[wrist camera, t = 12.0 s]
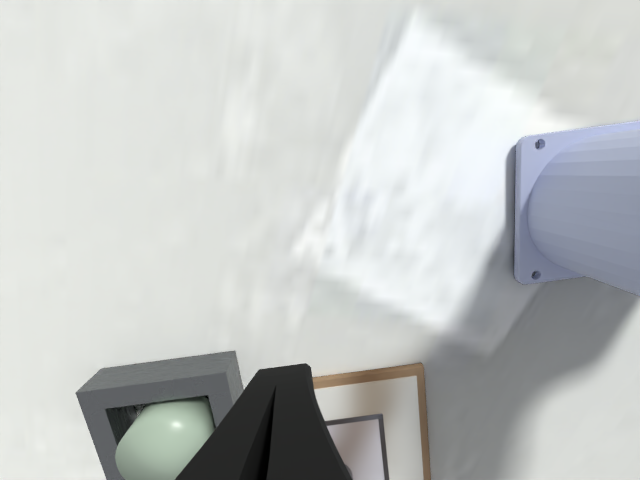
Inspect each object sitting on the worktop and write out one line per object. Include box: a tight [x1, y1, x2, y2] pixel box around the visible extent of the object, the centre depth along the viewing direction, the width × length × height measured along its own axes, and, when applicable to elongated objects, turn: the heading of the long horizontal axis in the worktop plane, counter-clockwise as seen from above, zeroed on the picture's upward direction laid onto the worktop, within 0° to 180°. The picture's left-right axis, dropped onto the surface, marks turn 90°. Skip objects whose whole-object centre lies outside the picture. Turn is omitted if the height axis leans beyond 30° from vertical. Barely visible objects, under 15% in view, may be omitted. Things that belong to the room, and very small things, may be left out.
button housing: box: [76, 351, 244, 480], centre depth 18 cm, size 8×8×2 cm
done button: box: [115, 396, 216, 480], centre depth 17 cm, size 5×5×3 cm
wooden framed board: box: [312, 363, 431, 480], centre depth 19 cm, size 9×10×1 cm
